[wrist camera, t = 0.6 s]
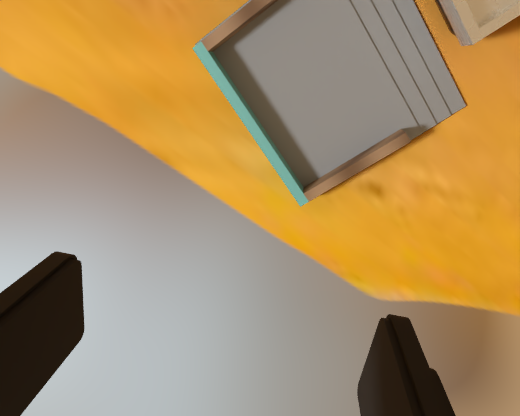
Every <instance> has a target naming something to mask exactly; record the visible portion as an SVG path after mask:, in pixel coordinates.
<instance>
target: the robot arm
mask: <svg viewBox="0 0 520 416" xmlns="http://www.w3.org/2000/svg"><path fill="white" fill-rule="evenodd" d="M82 289H83V287H82V266H81V262H80V261H79V260H77V257H76V256H75V255H72V254H67V253H62V252H54V253H52V254H51V255H50V256H48V257H47V258H46V259H44V260H43V261H42V262H40V263H39V264H38V265H36V266H35V267H34V268H33V269H31V270H30V271H29V272H27V273H26V274H25V275H23V276H22V277H21V278H19V279H18V280H17V281H16V282H14V283H13V284H12V285H10V286H9V287H8V288H6V289H5V290H4V291H2V292H1V293H0V416H20V415H21V414H22V413H23V411H24V410H25V409H26V408H27V407H28V405H29V404H30V403H31V402H32V400H33V399H34V398H35V397H36V395H37V394H38V393H39V392H40V390H41V389H42V388H43V386H44V385H45V384H46V383H47V381H48V380H49V379H50V378H51V376H52V375H53V374H54V373H55V371H56V370H57V369H58V368H59V366H60V365H61V364H62V363H63V361H64V360H65V359H66V358H67V356H68V355H69V354H70V353H71V351H72V350H73V349H74V348H75V346H76V345H77V344H78V343H79V341H80V340H81V338H82V336H83V333H84V313H83V312H84V310H83V290H82ZM358 401H359V407H360V414H361V416H455V413H454V411H453V409H452V406H451V404H450V402H449V399H448V397H447V395H446V392H445V390H444V388H443V385H442V383H441V380H440V378H439V376H438V374H437V372H436V371H435V370H434V369H431V368H429V365H428V363H427V360H426V358H425V356H424V353H423V351H422V348H421V346H420V343H419V341H418V338H417V336H416V334H415V331H414V329H413V326H412V324H411V321H410V320H409V318H406V317H401V316H396V315H391V314H389V315H388V316H387V317H386V318H381V319H380V321H379V323H378V326H377V329H376V332H375V335H374V339H373V342H372V344H371V347H370V351H369V354H368V356H367V359H366V362H365V365H364V368H363V371H362V374H361V378H360V380H359V384H358Z"/></svg>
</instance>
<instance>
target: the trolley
mask: <svg viewBox="0 0 520 416" xmlns="http://www.w3.org/2000/svg"><path fill="white" fill-rule="evenodd" d="M435 2H436V4H437V6H438V8H439V10H440V12H441V14H442V16H443V18H444V20H445V22H446V24H447V27H448V29H449V30H450V32H451V33H452V34H454V35H455V36H457V38H458V40H459V43H460V45H461V46H465V45H473V44H475V43H477V42H478V41H480V40H481V39H483V38H484V37H486V36H488V35H489V34H491V33H492V32H494V31H496V30H497V29H499V28H500V27H502V26H503V25H505V24H507V23H508V22H510V21H511V20H513V19H514V18H516V17H518V16H519V15H520V0H435Z"/></svg>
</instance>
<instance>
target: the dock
mask: <svg viewBox="0 0 520 416" xmlns="http://www.w3.org/2000/svg"><path fill="white" fill-rule="evenodd" d="M195 45H196V46H195V47H193V50H194V51H195V53H196V54H197V56H198V57H199V59H200V60H201V62H202V63H203V65H204V66H205V67H206V69H207V70H208V72H209V73H210V75H211V76H212V78H213V79H214V81H215V82H216V84H217V85H218V87H219V88H220V89H221V91H222V92H223V94H224V95H225V97H226V98H227V100H228V101H229V103H230V104H231V106H232V107H233V109H234V110H235V111H236V113H237V114H238V116H239V117H240V119H241V120H242V122H243V123H244V125H245V126H246V128H247V129H248V131H249V132H250V133H251V135H252V136H253V138H254V139H255V141H256V142H257V144H258V145H259V147H260V148H261V150H262V151H263V153H264V154H265V155H266V157H267V158H268V160H269V161H270V163H271V164H272V166H273V167H274V169H275V170H276V172H277V173H278V175H279V176H280V177H281V179H282V180H283V182H284V183H285V185H286V186H287V188H288V189H289V191H290V192H291V194H292V195H293V197H294V198H295V199H296V201H297V202H298V204H299V205H300V206H302V205H304V204H306V203H307V202H309V201H311V200H312V199H314V198H316V197H318V196H319V195H321V194H323V193H324V192H326V191H328V190H329V189H331V188H333V187H335V186H336V185H338V184H340V183H341V182H343V181H345V180H347V179H348V178H350V177H352V176H353V175H355V174H357V173H358V172H360V171H362V170H364V169H365V168H367V167H369V166H370V165H372V164H374V163H376V162H377V161H379V160H381V159H382V158H384V157H386V156H387V155H389V154H391V153H393V152H394V151H396V150H398V149H399V148H401V147H403V146H405V145H406V144H408V143H410V142H411V141H410V140H412V139H414V138H415V137H417V136H419V135H421V134H422V133H423V132H425V131H426V130H428V129H430V128H432V127H433V126H435V125H437V123H439V122H441V121H443V120H444V119H446V118H448V117H449V116H451V115H452V114H453V113H455V112H457V111H459V110H460V109H462V108H464V107H465V106H466V105H465V103H464V101H463V99H462V97H461V95H460V93H459V91H458V89H457V87H456V85H455V83H454V81H453V79H452V77H451V75H450V73H449V71H448V69H447V67H446V65H445V63H444V61H443V59H442V57H441V55H440V53H439V51H438V49H437V47H436V45H435V43H434V41H433V39H432V37H431V35H430V33H429V31H428V29H427V27H426V25H425V23H424V21H423V19H422V17H421V15H420V13H419V11H418V9H417V7H416V5H415V3H414V1H413V0H249V1H248V2H247V3H245V4H244V5H243V6H242V7H240V8H239V9H238V10H237V11H235V12H234V13H233V14H232V15H231V16H229V17H228V18H227V19H226V20H224V21H223V22H222V23H221V24H219V25H218V26H217V27H216V28H215V29H213V30H212V31H211V32H210V33H208V34H207V35H206V36H205V37H203V38H202V39H201V40H200V41H199V42H197V43H196V44H195Z"/></svg>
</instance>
